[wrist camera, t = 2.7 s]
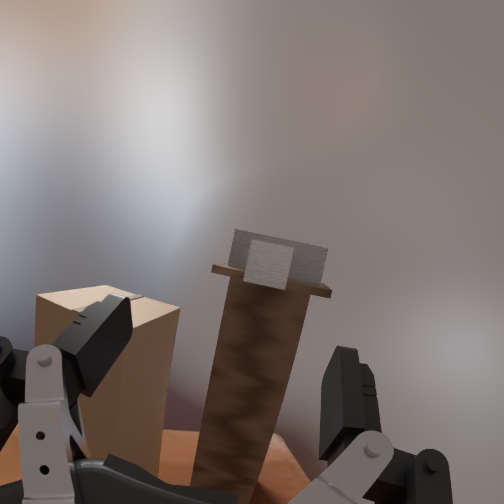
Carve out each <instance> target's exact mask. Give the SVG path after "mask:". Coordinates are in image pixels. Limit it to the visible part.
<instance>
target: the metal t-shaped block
mask: <svg viewBox="0 0 504 504" xmlns="http://www.w3.org/2000/svg"><path fill="white" fill-rule="evenodd" d="M327 251H328V249H327V248H323V247H318V246H314V245H309V244H304V243H300V242H295V241H290V240H286V239H280V238H276V237H271V236H266V235H261V234H257V233H252V232H247V231H241V230H237V229H235V233H234V238H233V242H232V247H231V252H230V257H229V262H228V266H230V267H235V268H239V269H243V270H245V274H244V278H243V281H246V282H250V283H255V284H259V285H264V286H268V287H273V288H277V289H282V290H285V287H286V283H287V279H289V280H294V281H299V282H303V283H308V284H313V285H317V286H320V284H321V279H322V275H323V270H324V265H325V260H326V256H327Z"/></svg>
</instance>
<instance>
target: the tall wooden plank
mask: <svg viewBox="0 0 504 504" xmlns="http://www.w3.org/2000/svg"><path fill="white" fill-rule="evenodd" d="M211 272H212V273H216V274H221V275H225V276H230V281H229V286H228V291H227V296H226V301H225V306H224V311H223V315H222V320H221V326H220V330H219V335H218V340H217V346H216V350H215V356H214V361H213V366H212V371H211V376H210V381H209V387H208V392H207V397H206V402H205V408H204V413H203V418H202V423H201V429H200V434H199V439H198V445H197V450H196V456H195V461H194V467H193V472H192V478H191V484H190V486H194V487H207V488H210V489H214V490H219V491H223V492H227V493H232V494H237V495H239V497H238V502H240V503H242V504H249V503H250V500H251V497H252V494H253V492H254V489H255V486H256V483H257V480H258V477H259V475H260V472H261V469H262V466H263V463H264V460H265V457H266V454H267V451H268V447H269V444H270V441H271V438H272V435H273V432H274V428H275V425H276V422H277V418H278V415H279V412H280V408H281V405H282V402H283V398H284V395H285V391H286V388H287V384H288V381H289V377H290V373H291V370H292V366H293V362H294V358H295V355H296V351H297V347H298V343H299V339H300V335H301V331H302V327H303V323H304V319H305V315H306V311H307V307H308V302H309V298H310V294H311V295H317V296H321V297H326V298H330V297H331V293H332V290H331V289H330V288H329V287H327V286H326V285H325V284H324V283H321V284H320V286H317V285H313V284H308V283H303V282H299V281H294V280H289V279H287V283H286V287H285V290H282V289H277V288H273V287H268V286H264V285H259V284H255V283H250V282H246V281H243V278H244V274H245V270H243V269H239V268H235V267H230V266H228V263H224V264H213V267H212V271H211Z"/></svg>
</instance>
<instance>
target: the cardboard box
mask: <svg viewBox="0 0 504 504" xmlns="http://www.w3.org/2000/svg"><path fill="white" fill-rule="evenodd" d="M111 292H113V293H116V294H119V295H123V296H126V297H129V299H130V302H131V313H132V322H133V332H132V336H131V339H130V341H129V342H128V344H127V345H126V347H125V348H124V350H123V351H122V352H121V354H120V355H119V357H118V358H117V360H116V361H115V362H114V364H113V365H112V367H111V368H110V370H109V371H108V373H107V374H106V376H105V377H104V378H103V380H102V381H101V383H100V384H99V386H98V387H97V389H96V390H95V392H94V393H93V395H92V396H91V398H90V397H87V396H85V395H83V394H80V395H79V397H78V399H79V402H80V408H81V415H82V421H83V427H84V432H85V438H86V442H87V445H88V448H89V450H90V453H91V456H92V458H97V459H105V460H106V458H107V456H108V454H109V453H110V454H112V455H114V456H117V457H119V458H121V459H124V460H126V461H128V462H131V463H133V464H136V465H138V466H140V467H141V468H143V469H144V470H146V471H147V472H149V473H150V474H152V475H154V476H155V477H157V478H158V471H159V460H160V450H161V440H162V431H163V422H164V414H165V406H166V398H167V390H168V383H169V376H170V369H171V362H172V355H173V349H174V343H175V336H176V330H177V324H178V319H179V313H180V307H176V306H172V305H169V304H166V303H162V302H159V301H155V300H152V299H149V298H145V297H144V296H142V295H138V294H137V295H135V294H132V293H129V292H126V291H123V290H120V289H116V288H113V287H110V286H107V285H104V286H96V287H89V288H83V289H75V290H68V291H61V292H52V293H45V294H38V295H37V297H36V313H35V347H37V346H39V345H44V344H48V345H51V344H52V343H53V342H54V341H55V339H56V338H57V337H58V336H59V335H60V334H61V333H62V332H63V331H64V330H65V329H66V328H67V327H68V326H69V324H70V323H71V322H73V320H74V319H75V318H76V317H77V316H79V314H80V313H81V312H82V311H83V310H84V309H85V308H86V307H87V306H89V305H91V304H93V303H94V302H96V301H100V302H101V301H102V300H103V299H104V298H105V297H106V296H107V295H108V294H109V293H111Z"/></svg>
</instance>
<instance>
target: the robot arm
mask: <svg viewBox="0 0 504 504" xmlns="http://www.w3.org/2000/svg"><path fill="white" fill-rule="evenodd" d="M132 332H133V322H132V313H131V302H130V299H129V297H126V296H123V295H119V294H116V293H113V292H111V293H109V294H108V295H107V296H106V297H105V298H104V299H103V300H102V301H101V302H100V301H96V302H94V303H93V304H91V305H89V306H87V307H86V308H85V309H84V310H83V311H82V312H81V313H80V314H79V316H77V317H76V318H75V319H74V320H73V322H71V323H70V324H69V326H68V327H67V328H66V329H65V330H64V331H63V332H62V333H61V334H60V335H59V336H58V337H57V338H56V339H55V341H54V342H53V343H52V344H51V345H48V344H44V345H39V346H37V347H35V348H34V349H32V350H31V351H30V352H28V351H22V350H17V349H13V347H12V344H11V342H10V341H9V339H7V338H5V337H2V336H0V451H1V450H2V448H3V446H4V445H5V443H6V441H7V440H8V438H9V436H10V435H11V433H12V432H13V430H14V428H15V427H16V425H17V424H18V434H19V452H20V463H21V473H22V480H19V481H15V482H12V483H9V484H5V485H2V486H0V504H242V503H240V502H238V497H239V495H237V494H232V493H227V492H223V491H219V490H214V489H210V488H207V487H194V486H180V485H171V484H167V483H165V482H163V481H162V480H160V479H158V478H157V477H155V476H154V475H152V474H150V473H149V472H147V471H146V470H144V469H143V468H141V467H140V466H138V465H136V464H133V463H131V462H128V461H126V460H124V459H121V458H119V457H117V456H114V455H112V454H110V453H109V454H108V456H107V458H106V460H105V459H97V458H92V456H91V453H90V450H89V448H88V445H87V442H86V438H85V432H84V427H83V421H82V415H81V408H80V402H79V399H78V397H79V395H80V394H83V395H85V396H87V397H90V398H91V396H92V395H93V393H94V392H95V390H96V389H97V387H98V386H99V384H100V383H101V381H102V380H103V378H104V377H105V376H106V374H107V373H108V371H109V370H110V368H111V367H112V365H113V364H114V362H115V361H116V360H117V358H118V357H119V355H120V354H121V352H122V351H123V350H124V348H125V347H126V345H127V344H128V342H129V341H130V339H131V336H132ZM376 396H377V393H376V388H375V380H374V375H373V373H372V371H371V370H370V368H369V366H368V365H367V364H362V363H359V357H358V351H357V349H354V348H348V347H342V346H337V347H336V348H335V351H334V353H333V355H332V358H331V360H330V362H329V364H328V367H327V369H326V371H325V374H324V376H323V380H322V386H321V419H320V444H319V460H326V461H328V467H327V469H326V470H325V471H324V472H323V473H322V474H321V475H320V476H318V477H317V478H316V479H314V480H313V481H312V482H311V483H310V484H309V485H308V486H307V487H306V488H305V489H303V490H302V491H301V492H300V493H299V494H298V495H297V496H296V497H294V498H293V499H292V500H291V501H290V502H289V503H287V504H357V503H358V501H359V500H360V499H361V498H364V499H367V500H370V501H374V502H375V504H453V501H452V490H451V481H450V472H449V465H448V461H447V459H446V457H445V456H444V455H443V454H442V453H441V452H439V451H437V450H434V449H425V450H423V451H421V452H420V453H419V454H418V455H413V454H410V453H407V452H404V451H401V450H398V449H395V448H394V447H393V445H392V442H391V441H390V439H389V438H388V437H387V436H385V435H384V434H382V431H381V424H380V416H379V408H378V400H377V397H376Z"/></svg>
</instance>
